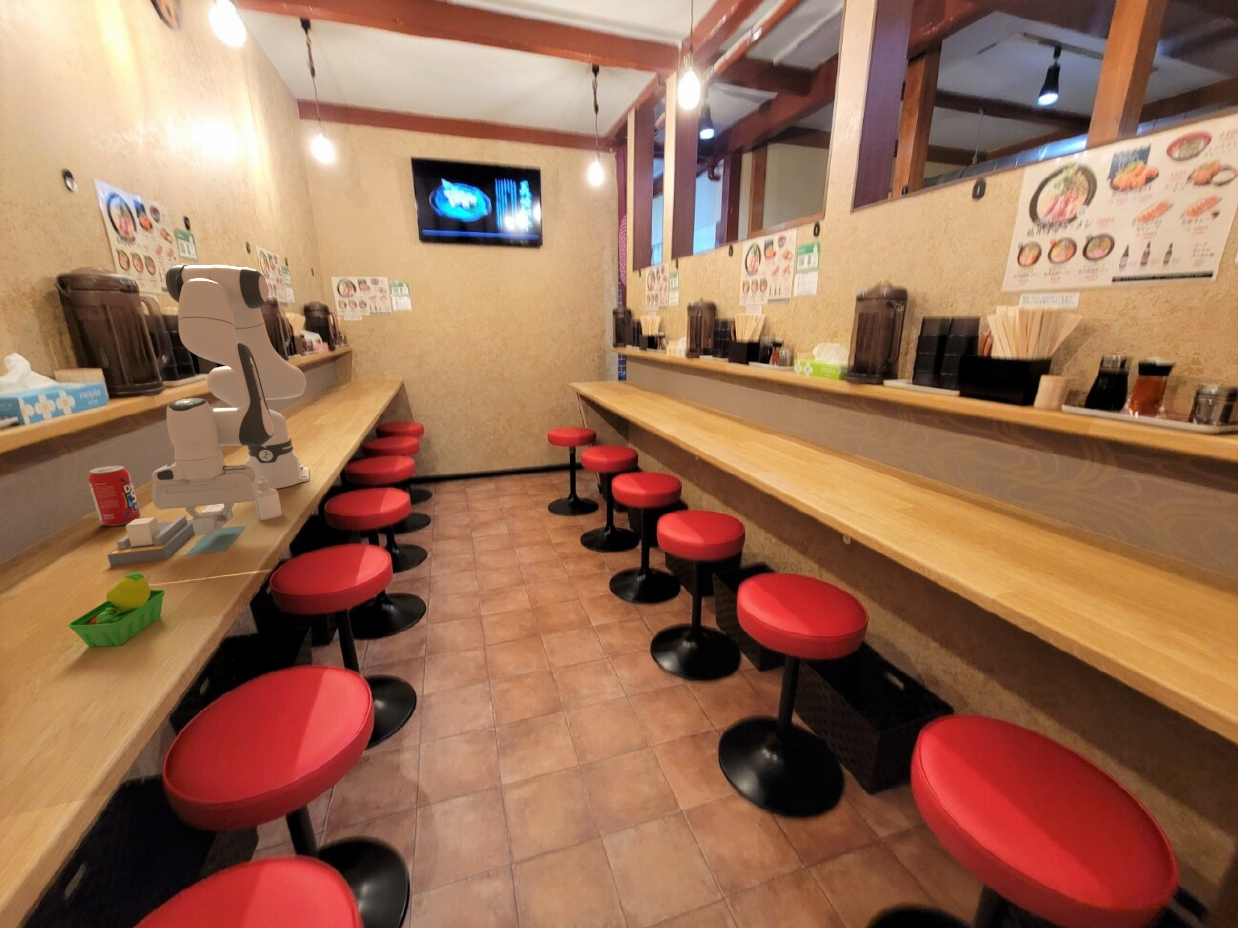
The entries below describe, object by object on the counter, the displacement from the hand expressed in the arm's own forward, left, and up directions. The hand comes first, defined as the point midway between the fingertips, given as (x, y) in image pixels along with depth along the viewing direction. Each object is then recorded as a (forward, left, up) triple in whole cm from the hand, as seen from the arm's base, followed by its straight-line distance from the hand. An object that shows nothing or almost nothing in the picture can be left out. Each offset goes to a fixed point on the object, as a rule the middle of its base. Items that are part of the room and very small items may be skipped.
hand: (213, 521), depth 124 cm
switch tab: (+4, -12, -2) cm, 13 cm away
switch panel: (0, -12, -5) cm, 13 cm away
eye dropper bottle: (-13, +8, -6) cm, 16 cm away
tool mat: (0, 0, -5) cm, 5 cm away
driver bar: (0, 0, -1) cm, 1 cm away
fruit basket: (+39, -1, -6) cm, 39 cm away
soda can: (-21, -28, -6) cm, 36 cm away
